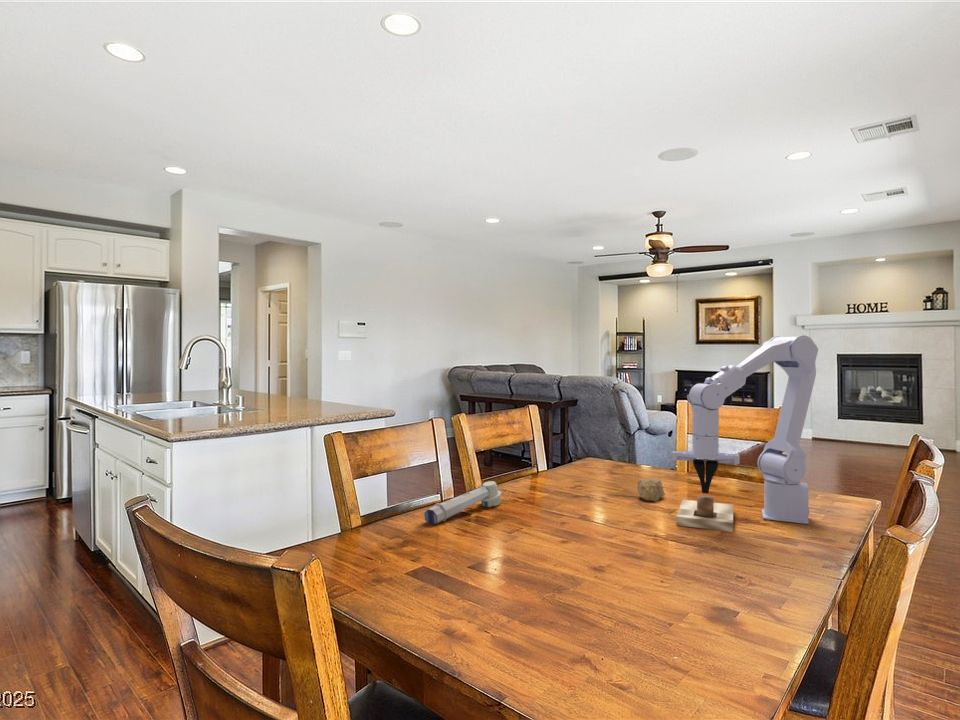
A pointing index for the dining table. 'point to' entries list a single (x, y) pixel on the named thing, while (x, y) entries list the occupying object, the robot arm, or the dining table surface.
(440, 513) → the grey mallet
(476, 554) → the dining table surface
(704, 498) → the peg
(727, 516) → the board
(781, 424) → the robot arm
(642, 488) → the stone tool
